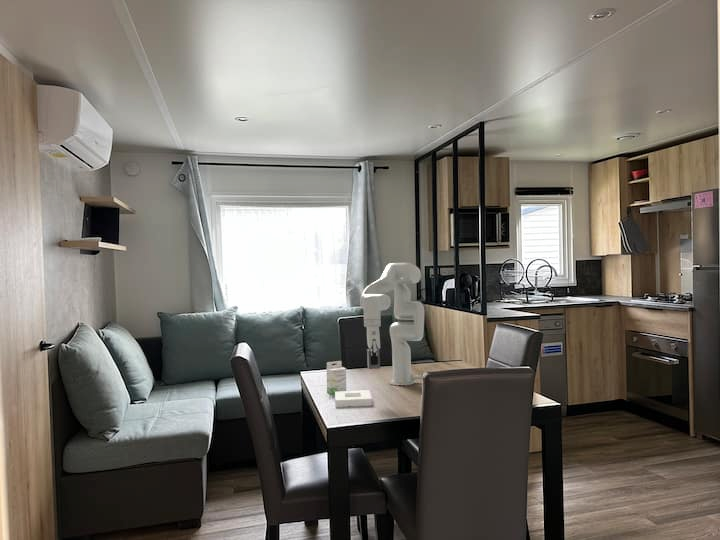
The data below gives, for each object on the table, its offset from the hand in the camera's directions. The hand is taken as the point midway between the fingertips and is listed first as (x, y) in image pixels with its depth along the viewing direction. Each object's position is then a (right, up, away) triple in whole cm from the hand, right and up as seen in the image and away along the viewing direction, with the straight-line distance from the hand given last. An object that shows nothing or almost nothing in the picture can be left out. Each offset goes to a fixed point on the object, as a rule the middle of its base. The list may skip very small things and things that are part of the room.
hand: (373, 363), depth 229 cm
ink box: (-17, -18, +20) cm, 32 cm away
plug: (0, -2, 0) cm, 2 cm away
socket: (-9, -18, +2) cm, 20 cm away
